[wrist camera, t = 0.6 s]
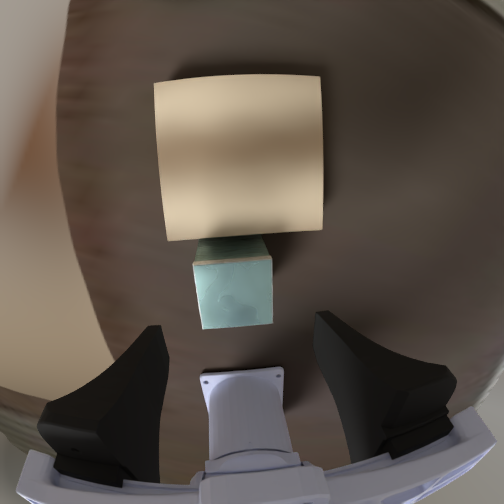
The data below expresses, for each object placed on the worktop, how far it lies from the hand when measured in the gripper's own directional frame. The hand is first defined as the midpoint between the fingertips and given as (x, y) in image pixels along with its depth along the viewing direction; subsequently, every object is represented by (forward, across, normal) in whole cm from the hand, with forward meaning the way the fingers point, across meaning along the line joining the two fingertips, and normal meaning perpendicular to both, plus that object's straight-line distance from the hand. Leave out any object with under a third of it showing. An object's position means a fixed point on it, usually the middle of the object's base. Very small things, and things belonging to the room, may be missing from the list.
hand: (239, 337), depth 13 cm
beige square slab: (+10, -1, -8) cm, 12 cm away
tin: (+9, 0, 0) cm, 9 cm away
